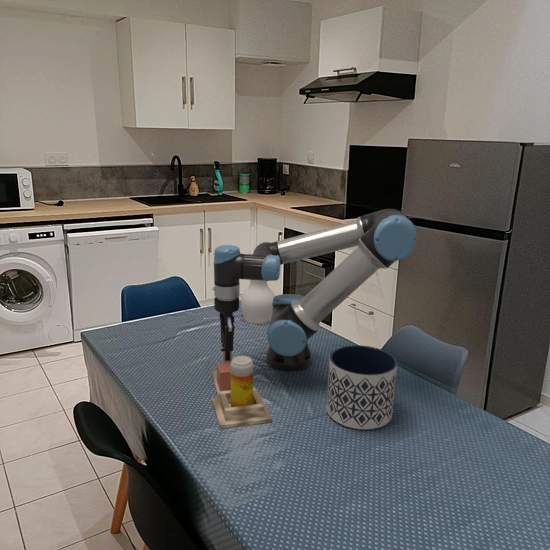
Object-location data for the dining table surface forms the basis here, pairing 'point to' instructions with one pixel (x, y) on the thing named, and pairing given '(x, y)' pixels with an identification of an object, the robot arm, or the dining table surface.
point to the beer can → (241, 381)
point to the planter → (361, 386)
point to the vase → (257, 303)
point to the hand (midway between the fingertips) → (226, 368)
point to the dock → (238, 409)
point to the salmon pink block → (224, 376)
